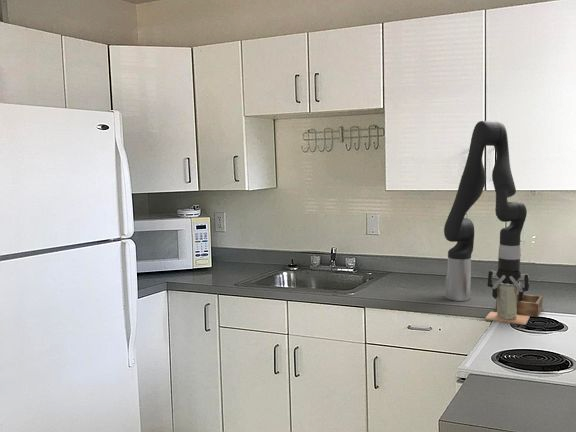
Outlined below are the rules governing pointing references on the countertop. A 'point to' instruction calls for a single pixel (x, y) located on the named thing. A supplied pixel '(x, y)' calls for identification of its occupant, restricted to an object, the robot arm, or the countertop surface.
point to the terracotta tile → (519, 320)
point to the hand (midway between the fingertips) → (507, 299)
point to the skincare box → (507, 301)
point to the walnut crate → (529, 305)
